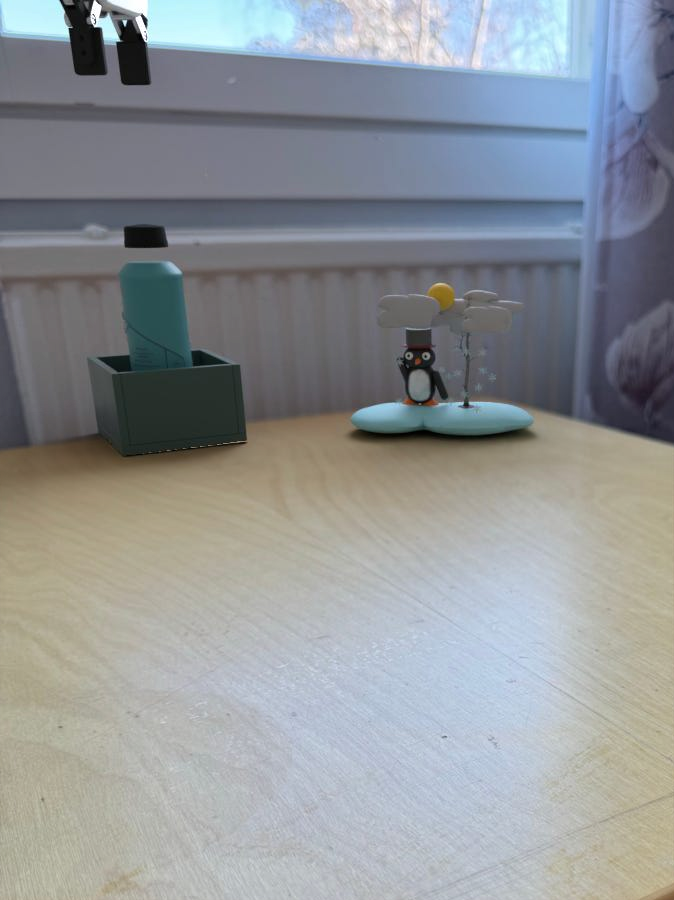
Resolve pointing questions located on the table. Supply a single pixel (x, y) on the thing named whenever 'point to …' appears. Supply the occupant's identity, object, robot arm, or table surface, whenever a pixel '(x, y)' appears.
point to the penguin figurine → (423, 380)
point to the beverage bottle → (153, 305)
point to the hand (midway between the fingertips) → (115, 80)
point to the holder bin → (168, 403)
